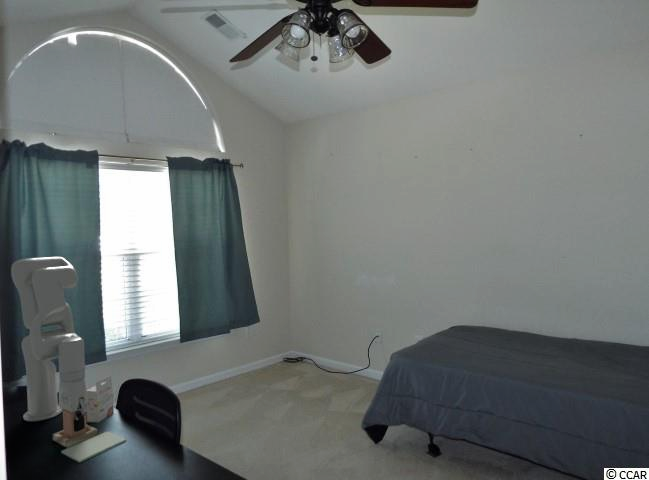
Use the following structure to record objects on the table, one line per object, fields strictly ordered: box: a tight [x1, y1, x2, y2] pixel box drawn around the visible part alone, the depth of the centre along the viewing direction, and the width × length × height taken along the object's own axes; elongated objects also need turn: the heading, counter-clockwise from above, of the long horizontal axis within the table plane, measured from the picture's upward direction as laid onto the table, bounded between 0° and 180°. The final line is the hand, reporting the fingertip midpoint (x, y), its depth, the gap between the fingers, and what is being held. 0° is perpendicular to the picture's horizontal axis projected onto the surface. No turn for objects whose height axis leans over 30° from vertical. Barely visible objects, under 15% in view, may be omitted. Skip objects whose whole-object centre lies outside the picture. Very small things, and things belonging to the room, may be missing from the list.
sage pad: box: [61, 430, 127, 463], centre depth 138 cm, size 11×15×1 cm
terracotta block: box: [62, 407, 87, 439], centre depth 145 cm, size 5×5×10 cm
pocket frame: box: [52, 423, 99, 449], centre depth 145 cm, size 10×10×2 cm
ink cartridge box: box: [86, 375, 115, 423], centre depth 160 cm, size 9×5×15 cm, turn 168°
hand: (75, 427), depth 145 cm, fingers closed on terracotta block, 5 cm apart
